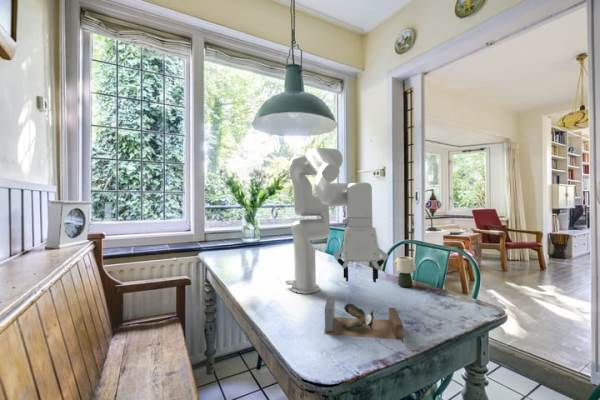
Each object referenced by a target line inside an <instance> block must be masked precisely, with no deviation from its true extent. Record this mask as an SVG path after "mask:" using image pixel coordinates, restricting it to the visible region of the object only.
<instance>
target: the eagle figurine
mask: <svg viewBox="0 0 600 400" xmlns="http://www.w3.org/2000/svg"><path fill="white" fill-rule="evenodd" d="M344 311H345V313H347V314H349V315H351V316H352V317H353V318H358V320H354V321H350V322H348V323H345V324H344V325H343V326H342V327H343V328H344V329H351V328H356V327H358V328H359V327H362V325H363V323H364V324H367V325H369V326H370V328H371V329H372V324H374V323H373V319H375V316H374V309H372V310H371V311H370V313H367V315H366V313H365V311H364V310H363V309H362V308H359V307H358V306H356V305H355V304H353V303H346V304H345V305H344Z"/></svg>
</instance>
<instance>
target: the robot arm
mask: <svg viewBox="0 0 600 400" xmlns="http://www.w3.org/2000/svg"><path fill="white" fill-rule="evenodd" d="M343 161H344V159H343V155H342V153H341V152H340V150H338V149H336V148H328V147H327V148H326V147H315V148H312V149H310V150H309V151H308V152H307V154H306V155H296V156H294V157H292V158H291V159H290V161H289V168H288V170H289V171H288V172H289V176H290V180H291V183H292V186H293V187H292V188H293V207H294V212H295V215H296V216H299V217H316V218H310V219H309V218H307V219H304V218H303V219H298V220H295V221H294V222H293V224H292V226H291V233H292V235H291V236H292V239H293V251H294V252H293V254H294V278H292V279H285V284H286V285H288V286H291V291H292V290H293V291H292V292H294V293H296V292H297V294H301V293H302V294H307V295H308V294H313V293H317V292H319V290H320V286H319V285H318V283H317V282H316V281H317V280H316V279H317V277H316V276H317V275H316V273H317V271H316V267H317V266H316V249H315V247H314V245H313V244H312V242H311V241H317V240H319V241H320V240H324V239H327V238H328V237H329V235H330V231H331V228H330V227H331V223H330V222H331V221H330V207H346V214H347V215H346V216H347V217H345V218H344V219H342V224H343V225H347V226H345V228H344V232H343V244H342V245H343V246H341V247H340V248H339V249H337V250H336V251H334V253H333V255H332V256H333V257H334V259H335V260H336V261H337V263H338V264H339V265H340V266H341V268H343V278H344V279H345V282H349V263H350V262H358V263H359V262H365V263H367V262H368V263H369V262H371V264H372V266H373V267H372V280H373V281H372V282H374V283H377V280H378V279H379V269H380V268H381V267H382V265H384V263H385V262H386V261H387V259H388V258H389V254H388V253H386V252H385V251H384V250H383V249H381V248H380V247H378V246H379V245H378V236H377V230H376V227H373V191H372V190H373V187H372V184H371V183H369V182H363V181H362V182H350V183H346V182H342V183H341V182H340V183H338V182H335V183H332V182H334V181H335V180H336V179H337V178H338V177H339V174H340V168H341V167H342V165H343ZM307 176H315V179H314V191H315V193H316V194H315V195H313V184H312V183H311V181H310V180H309V178H308V177H307ZM341 254H343V259H342V258H341V257H340V255H341ZM379 255H381V257H380V258H379ZM378 259H379V260H378ZM302 294H301V295H302Z"/></svg>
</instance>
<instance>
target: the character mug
mask: <svg viewBox="0 0 600 400" xmlns="http://www.w3.org/2000/svg"><path fill="white" fill-rule="evenodd" d="M394 267H396V271H397V272H398V273H399V274H398V280H397V284H398V286H400V287H412V286H413V278H412V277H413V276H412V273H413V272H416V270H417V264H416V263H414V258H413V257H411V256H398V257H396V259H395V260H394Z"/></svg>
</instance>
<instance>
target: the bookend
mask: <svg viewBox="0 0 600 400" xmlns="http://www.w3.org/2000/svg"><path fill="white" fill-rule="evenodd" d="M335 299H336V297H335V296H327V297H326V301H325V307H324V331H325V332H327V333H333V332H334V322H335V317H336V311H335V310H336V304H335V303H336V301H335Z"/></svg>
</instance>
